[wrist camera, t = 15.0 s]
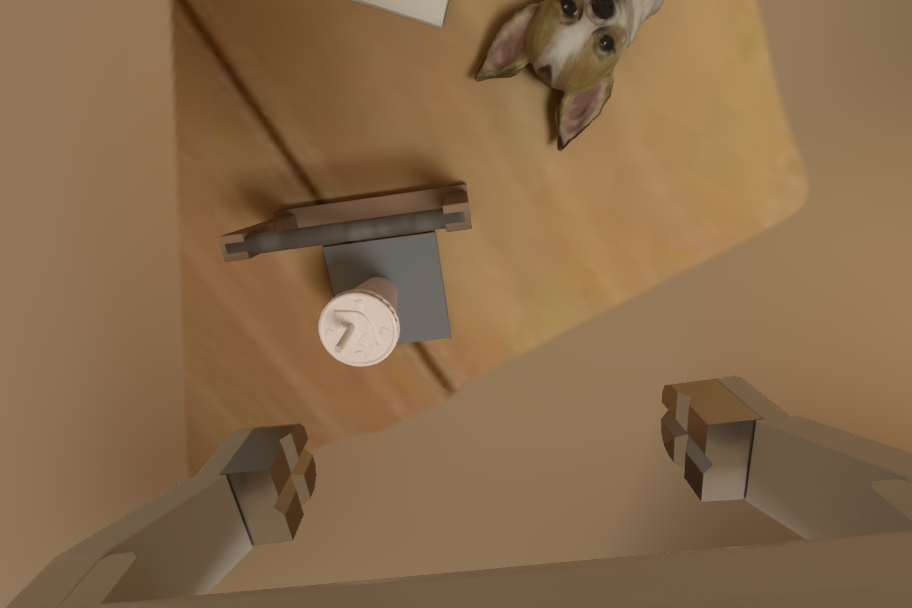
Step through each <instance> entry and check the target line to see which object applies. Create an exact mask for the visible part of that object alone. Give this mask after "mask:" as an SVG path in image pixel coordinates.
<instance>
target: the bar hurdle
mask: <svg viewBox="0 0 912 608" xmlns="http://www.w3.org/2000/svg"><path fill="white" fill-rule="evenodd" d="M274 215H275V219H272V220H269V221H265V222H262V223H259V224H256V225H253V226H250V227H247V228H244V229H241V230H238V231H235V232H232V233H229V234H226V235H223V236H219V237H217V238H218V241H219V245H220V248H221V251H222V254H223V257H224V261H225V262H229V261H237V260H244V259H250V258H252V257H254V256H256V255H258V254H260V253H266V252H274V251H281V250H288V249H296V248H303V247H311V246H318V245H325V244H333V243H340V242H347V241H355V240H362V239H370V238H377V237H384V236H392V235H399V234H406V233H414V232H421V231H428V230H436V229H443V228H446V232H451V231H459V230H466V229H472V226H471V217H470V209H469V202H468V195H467V187H466V184H462V185H454V186H447V187H440V188H433V189H426V190H419V191H412V192H405V193H397V194H390V195H383V196H376V197H369V198H362V199H355V200H348V201H340V202H333V203H326V204H319V205H312V206H305V207H298V208H290V209H283V210H277V211H274Z"/></svg>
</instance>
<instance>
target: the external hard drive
mask: <svg viewBox="0 0 912 608" xmlns="http://www.w3.org/2000/svg"><path fill="white" fill-rule="evenodd" d="M351 1H354V2H358V3H361V4H364V5H367V6H370V7H373V8H376V9H380V10H383V11H386V12H389V13H392V14H395V15H398V16H401V17H404V18H407V19H410V20H414V21H417V22H420V23H423V24H426V25H429V26H432V27H435V28H438V29H441V30H442V29H443V25H444V21H445V17H446V12H447V8H448V4H449V0H351Z"/></svg>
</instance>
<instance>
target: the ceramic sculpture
mask: <svg viewBox="0 0 912 608" xmlns="http://www.w3.org/2000/svg"><path fill="white" fill-rule="evenodd" d="M663 3H664V0H543V1H542V2H540V3H537V4H529V5H526V6H524V7H522V8H520V9H518V10H516V11H515V12H514V13H513V14H512V16H511V17H510V18H509V19H508V20H507V21H506V22H505V23H504V24H503V25H501V26H500V27H499V30H498V32H497V34H496V36H495V38H494V39H493V41H492V43H491V45H490V47H489V49H488V51H487V53H486V55H485V57H484V59H483V62H482V65H481V67H480V68H479V70H478V72H477V74H476V76H475V80H476V81H483V80H486V79H490V78H510V77H512V76H515V75H517V74H518V73H519V72H520V70H521V69H522V68H523V67H525V65H526V64H528V63H530V62H531V64H532V65H533V67H534V70H535V72H536V74H537V75H538V77H539V79H540V80H541V81H542V82H543V83H544V84H546V85H547V86H550V87H552V88H555V89H558V90H561V91H563V92H564V94H563V97H562V99H561V100H560V101H559V103H558V104H557V106H556V109H555V114H554V117H555V124H556V130H557V148H558V150H559V151H562V150H563V149H564V148H565V147H566V146H567V145H568V144H569V143H570V141H571V140H573V139H574V138H576V137H577V136H578V135H579V134H580V133H581V132H582V131H583V130H584V129H585V128H586V127H587V126H589V124H590V123H591V122H592V121H593V120H595V118H597V117H598V116H599V115H600V113H601V111H602V108H603V106H604V105H605V103H606V102H607V100H608V99H609V98H610V96H611V91H612V87H613V82H614V81H613V71H614V67H615V65H616V64H617V62H618V60H619V59H620V57H621V56H622V54H623V53H624V52H625V50H626V49H627V48H628V47H629V46H630V45H631V44H632V43H633V41H634V39H635V36H636V33H637V32H638V30H639V28H640V25H641V24H642V23H643V22H644V21H645V20H646V19H648V18H649V17H651V16H652V15H654V14H656V13H657V12H658V11H659V10H660V8H661V7H662V5H663Z"/></svg>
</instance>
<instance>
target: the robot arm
mask: <svg viewBox="0 0 912 608" xmlns="http://www.w3.org/2000/svg"><path fill="white" fill-rule="evenodd" d="M662 403H663V404H664V405H665V406H666V408H667V409H668V411H667V413H666V414H665V415H664V416H663V418H662V419H661V434H662V439H663V443H664V446H665V449H666V451H667V453H668V455H669V456H670V458H671V459H672V461H673V462H674V463H676V464H678V465H679V466H681V467H683V468H685V472H684V478H685V479H686V481H687V482H688V484H689V485H690V486H691V488H692V489H693V491H694V492H695V494H696V495H697V496H698V498H699V499H700V500H701V502H704V501H719V500H734V499H746V501H747V502H749V503H750V504H752V505H753V506H755V507H756V508H758V509H759V510H761V511H763V512H764V513H766V514H767V515H769V516H770V517H772V518H774V519H775V520H777V521H778V522H780V523H781V524H783V525H785V526H786V527H788V528H789V529H791V530H792V531H794V532H796V533H797V534H799V535H800V536H802V537H803V538H805V539H806V540H803V541H793V542H782V543H772V544H760V545H749V546H738V547H727V548H715V549H705V550H693V551H682V552H671V553H660V554H650V555H638V556H626V557H616V558H604V559H593V560H582V561H571V562H560V563H549V564H538V565H528V566H516V567H506V568H495V569H484V570H473V571H463V572H452V573H441V574H429V575H418V576H407V577H396V578H386V579H375V580H363V581H352V582H342V583H330V584H319V585H308V586H297V587H286V588H274V589H263V590H252V591H241V592H231V593H220V594H208V595H206V594H207V593H208V592H209V591H210V590H211V589H212V588H213V587H214V586H215V585H216V584H217V583H218V582H219V581H220V580H221V579H222V578H223V577H224V576H225V575H226V574H227V573H228V572H229V571H230V570H231V569H232V568H233V567H234V566H235V565H236V564H237V563H238V562H239V561H240V560H241V559H242V558H243V557H244V556H245V555H246V554H247V553H248V552H249V551H250V550H251V549H252V546H253V545H260V544H269V543H277V542H285V541H292V540H293V539H294V537H295V534H296V532H297V530H298V527H299V525H300V523H301V519H302V518H303V515H304V514H303V510H302V507H301V506H302V505H303V504H305V503H306V502H307V501H308V500H309V499H311V496H312V494H313V491H314V488H315V482H316V465H315V461H314V458H313V455H312V454H311V453H310V452H308V451H307V450H306V449H305V448H304V447H305V445H306V443H307V441H308V436H307V433H306V430H305V427H304V426H303V425H301V424H300V423H298V424H287V425H275V426H263V427H251V428H243V429H237V430H234V431H231V432H230V434H229V435H228V436H227V437H226V439H225V440H224V441H223V442H222V444H221V445H220V446H219V447H218V448H217V450H216V451H215V452H214V453H213V455H212V456H211V457H210V458H209V460H208V461H207V462H206V463H205V464H204V466H203V467H202V468H201V469H200V471H199V472H198V473H197V474H196V476H195V477H194V478H188V479H185V480H184V481H182V482H180V483H179V484H177V485H175V486H174V487H172V488H170V489H168V490H167V491H165V492H163V493H162V494H160V495H158V496H157V497H155V498H154V499H152V500H150V501H148V502H147V503H145V504H143V505H142V506H140V507H138V508H137V509H135V510H133V511H132V512H130V513H128V514H127V515H125V516H124V517H122V518H120V519H118V520H117V521H115V522H113V523H112V524H110V525H108V526H107V527H105V528H103V529H102V530H100V531H98V532H97V533H95V534H93V535H92V536H90V537H88V538H87V539H85V540H83V541H82V542H80V543H78V544H77V545H75V546H73V547H72V548H70V549H69V550H67V551H65V552H63V553H62V554H60V555H58V556H57V557H55V558H54V559H53V560H52V561H51V562H50V563H49V564H48V565H47V566H46V567H45V568H44V569H43V570H42V571H41V572H40V573H39V574H38V575H37V576H36V577H35V578H34V579H33V580H32V581H31V582H30V583H29V584H28V585H27V586H26V587H25V588H24V589H23V590H22V591H21V592H20V594H18V595H17V596H16V597H15V599H14V600H13V601H11V602H10V603H9V604H8V605H7V607H6V608H912V453H910V452H907V451H904V450H901V449H898V448H895V447H892V446H889V445H886V444H883V443H880V442H877V441H874V440H871V439H868V438H865V437H862V436H859V435H856V434H853V433H850V432H847V431H843V430H841V429H838V428H834V427H832V426H828V425H825V424H822V423H819V422H816V421H813V420H810V419H807V418H804V417H801V416H793V417H791V416H790V415H789V414H787V413H786V412H785V411H783V410H782V409H781V408H780V407H779V406H777V405H776V404H775V403H773V402H772V401H771V400H769V399H768V398H767V397H766V396H765V395H763V394H762V393H761V392H759V391H758V390H757V389H756V388H754V387H753V386H752V385H751V384H749V383H748V382H747V381H745V380H744V379H743V378H741V377H738V376H729V377H722V378H715V379H710V380H702V381H694V382H687V383H678V384H671V385H665V386H664V389H663V392H662Z"/></svg>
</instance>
